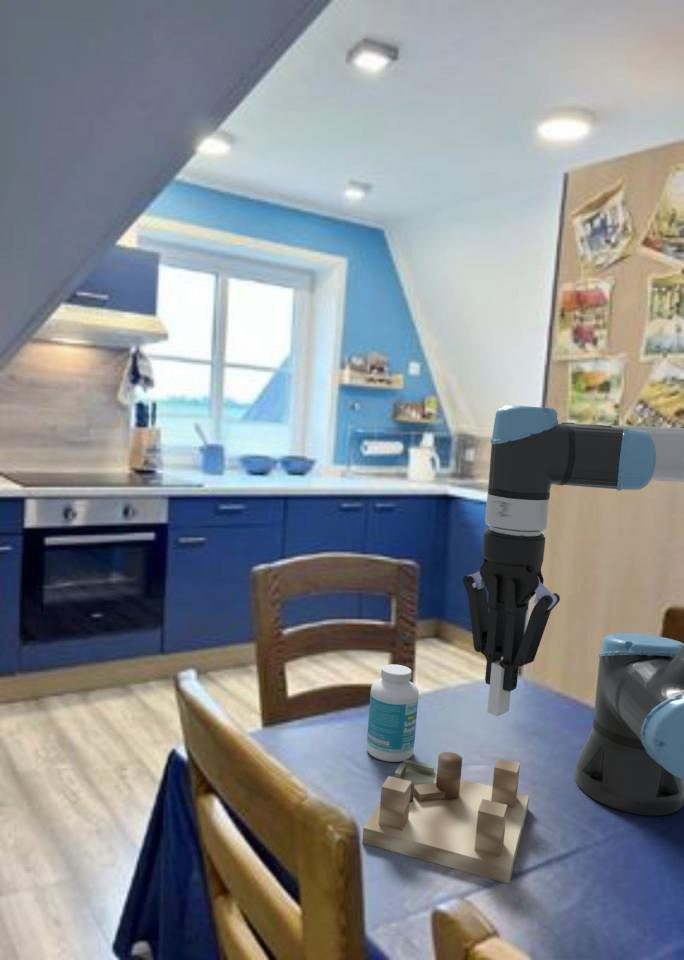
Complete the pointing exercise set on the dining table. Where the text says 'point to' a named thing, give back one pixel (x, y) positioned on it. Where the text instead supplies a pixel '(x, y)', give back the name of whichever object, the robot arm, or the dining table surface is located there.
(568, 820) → the dining table surface
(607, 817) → the dining table surface
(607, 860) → the dining table surface
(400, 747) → the pill bottle
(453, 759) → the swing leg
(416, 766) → the stool seat
